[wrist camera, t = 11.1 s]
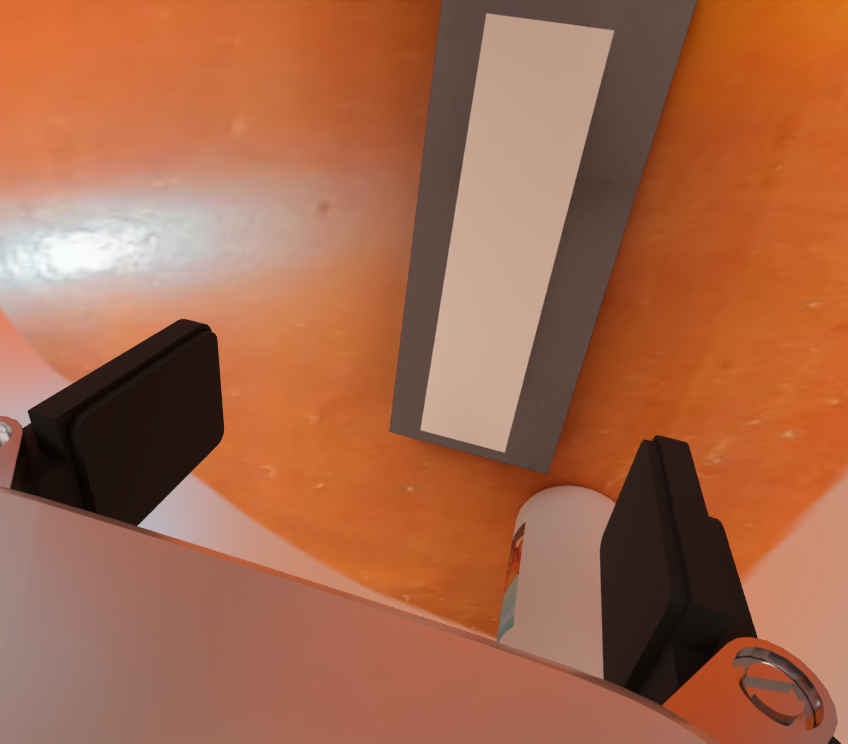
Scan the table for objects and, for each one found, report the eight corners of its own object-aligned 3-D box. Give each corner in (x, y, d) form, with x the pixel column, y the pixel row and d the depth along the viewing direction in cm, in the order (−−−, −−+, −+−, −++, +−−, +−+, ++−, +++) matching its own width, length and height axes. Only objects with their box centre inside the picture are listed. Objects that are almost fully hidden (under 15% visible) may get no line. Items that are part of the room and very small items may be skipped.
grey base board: (468, -83, 24) (454, -104, 21) (706, -59, 22) (721, -78, 20) (403, 407, 37) (389, 431, 34) (550, 446, 35) (547, 474, 32)
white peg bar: (511, 32, 25) (486, 13, 19) (607, 45, 25) (614, 30, 18) (451, 365, 34) (420, 430, 28) (520, 382, 33) (504, 452, 27)
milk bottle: (549, 462, 36) (514, 810, 18) (656, 515, 35) (722, 919, 18) (497, 535, 40) (430, 876, 22) (593, 583, 39) (599, 967, 22)
